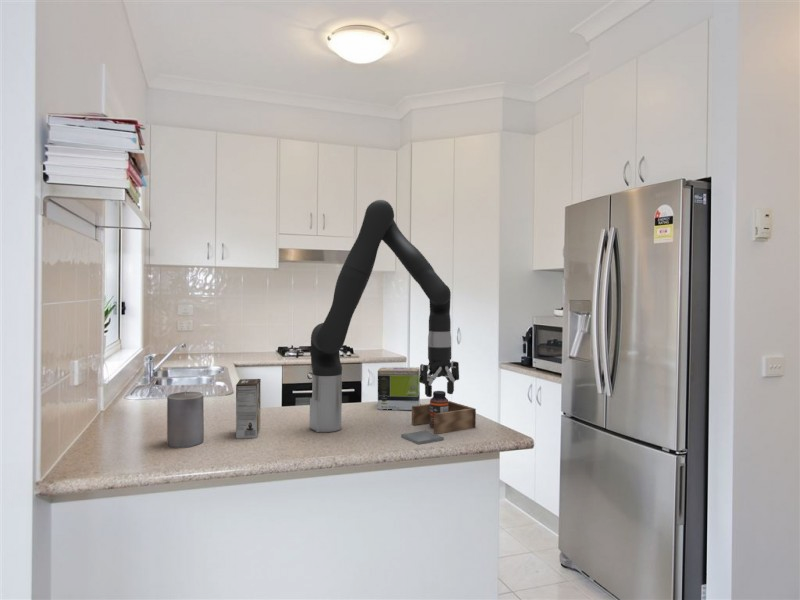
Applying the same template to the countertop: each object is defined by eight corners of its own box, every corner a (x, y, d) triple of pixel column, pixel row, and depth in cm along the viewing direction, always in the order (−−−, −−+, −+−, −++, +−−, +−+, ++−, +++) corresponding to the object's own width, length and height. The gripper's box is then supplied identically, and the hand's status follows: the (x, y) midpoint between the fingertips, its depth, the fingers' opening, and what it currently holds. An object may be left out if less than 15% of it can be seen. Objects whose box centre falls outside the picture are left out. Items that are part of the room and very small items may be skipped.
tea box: (419, 405, 207) (420, 366, 207) (418, 411, 197) (418, 370, 197) (380, 404, 209) (381, 365, 208) (376, 410, 199) (377, 369, 198)
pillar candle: (174, 438, 159) (173, 387, 158) (208, 437, 160) (207, 386, 159) (161, 448, 149) (161, 394, 149) (198, 448, 150) (198, 393, 149)
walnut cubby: (436, 434, 167) (436, 414, 167) (411, 424, 178) (411, 406, 178) (475, 427, 175) (475, 408, 175) (449, 418, 186) (449, 401, 186)
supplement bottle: (425, 426, 176) (426, 391, 176) (438, 423, 180) (439, 389, 180) (438, 430, 171) (439, 394, 171) (451, 427, 175) (452, 392, 175)
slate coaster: (418, 444, 155) (418, 441, 155) (401, 436, 163) (401, 434, 163) (443, 439, 160) (443, 437, 160) (425, 432, 168) (425, 430, 168)
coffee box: (239, 430, 168) (239, 378, 168) (260, 430, 169) (261, 378, 169) (235, 438, 159) (235, 384, 159) (258, 438, 160) (258, 383, 160)
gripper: (428, 347, 168) (428, 399, 169) (464, 344, 176) (464, 394, 176) (414, 345, 174) (414, 395, 175) (449, 342, 182) (449, 390, 183)
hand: (439, 395), depth 176 cm, fingers open, 8 cm apart
